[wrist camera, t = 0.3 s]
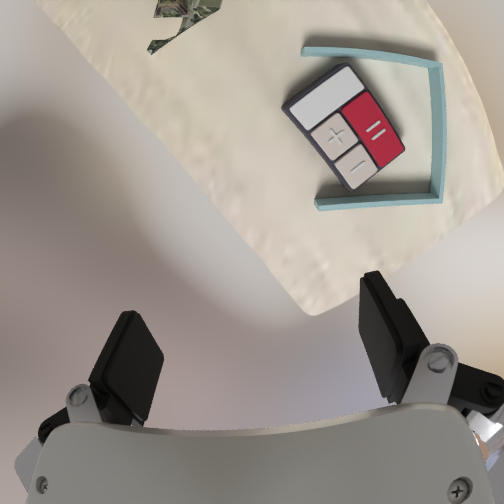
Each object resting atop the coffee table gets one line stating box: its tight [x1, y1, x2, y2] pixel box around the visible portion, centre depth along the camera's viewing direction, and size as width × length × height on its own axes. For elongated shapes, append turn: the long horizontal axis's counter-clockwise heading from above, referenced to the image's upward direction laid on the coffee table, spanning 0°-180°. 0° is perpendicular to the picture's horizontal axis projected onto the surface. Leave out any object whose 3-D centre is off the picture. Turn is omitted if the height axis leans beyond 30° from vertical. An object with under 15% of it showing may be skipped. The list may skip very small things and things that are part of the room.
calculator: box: [281, 63, 405, 192], centre depth 33 cm, size 11×4×15 cm
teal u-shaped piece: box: [301, 47, 447, 211], centre depth 33 cm, size 23×21×3 cm
